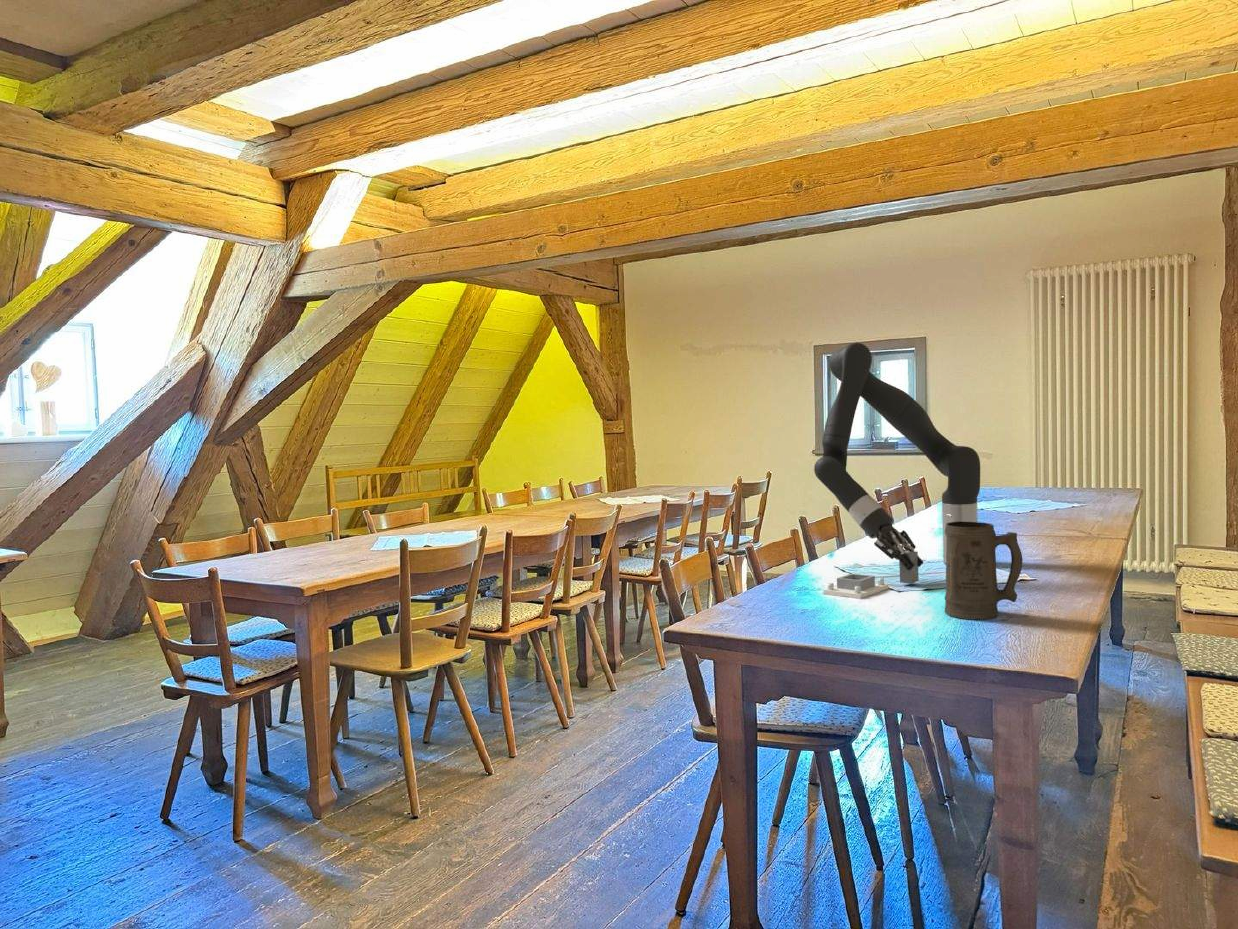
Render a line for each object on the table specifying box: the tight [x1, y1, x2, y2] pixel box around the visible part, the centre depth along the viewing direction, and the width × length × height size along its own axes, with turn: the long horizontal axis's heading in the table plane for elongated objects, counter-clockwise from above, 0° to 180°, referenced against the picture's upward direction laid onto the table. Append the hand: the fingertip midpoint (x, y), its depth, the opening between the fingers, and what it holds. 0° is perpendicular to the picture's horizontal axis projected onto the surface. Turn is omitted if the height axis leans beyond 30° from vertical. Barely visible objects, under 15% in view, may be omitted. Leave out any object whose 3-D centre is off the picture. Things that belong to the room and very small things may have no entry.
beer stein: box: [944, 521, 1023, 620], centre depth 180 cm, size 15×11×20 cm
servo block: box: [898, 550, 920, 585], centre depth 213 cm, size 4×3×8 cm
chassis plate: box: [822, 573, 890, 600], centre depth 208 cm, size 14×10×4 cm
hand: (916, 566), depth 211 cm, fingers closed on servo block, 4 cm apart
